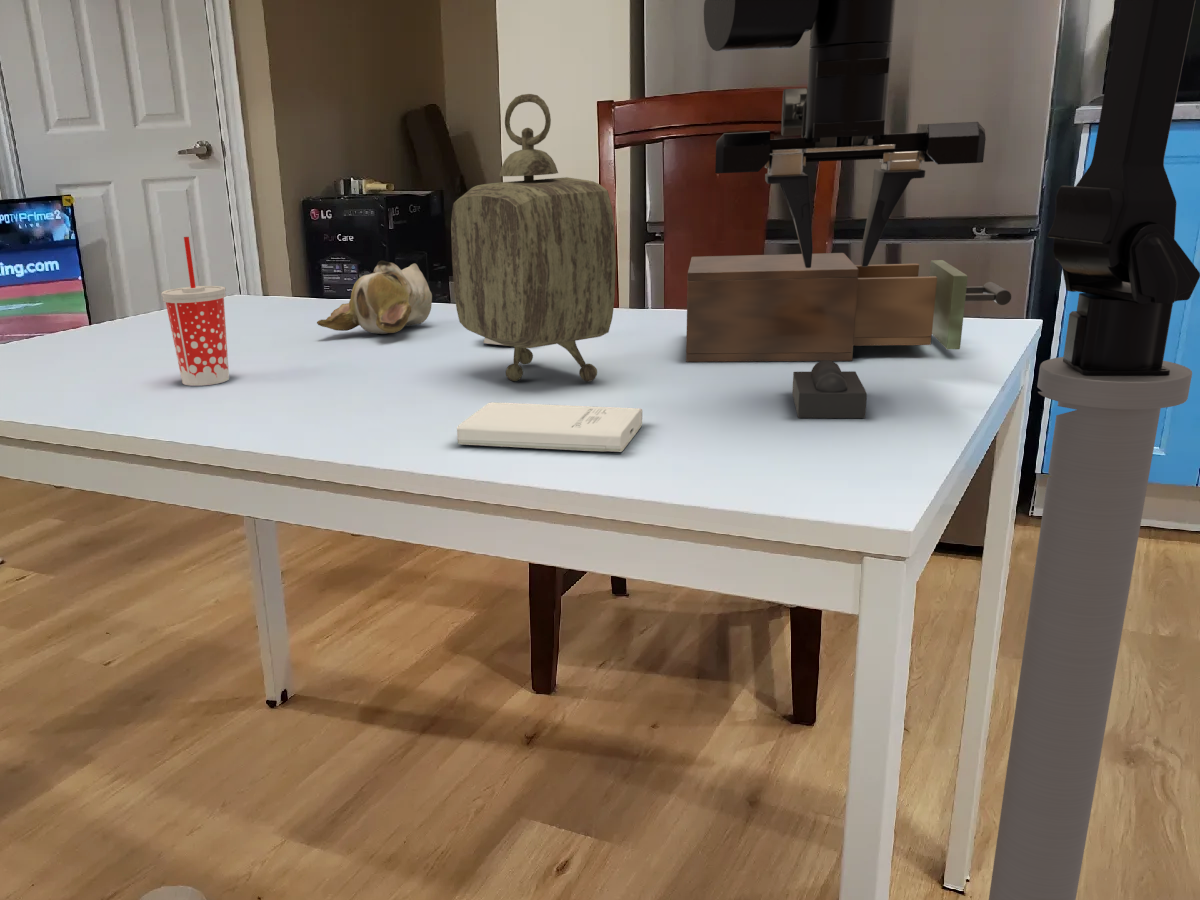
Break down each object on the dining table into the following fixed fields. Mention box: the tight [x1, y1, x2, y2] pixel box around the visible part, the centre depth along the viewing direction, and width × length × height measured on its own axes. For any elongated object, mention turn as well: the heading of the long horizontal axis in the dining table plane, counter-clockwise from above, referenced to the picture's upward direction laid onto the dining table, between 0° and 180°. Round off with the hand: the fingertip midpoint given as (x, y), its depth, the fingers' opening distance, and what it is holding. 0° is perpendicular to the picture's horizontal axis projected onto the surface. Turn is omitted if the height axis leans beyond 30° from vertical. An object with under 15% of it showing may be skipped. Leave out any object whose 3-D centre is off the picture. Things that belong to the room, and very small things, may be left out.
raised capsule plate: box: [791, 360, 868, 419], centre depth 88 cm, size 8×5×3 cm, turn 168°
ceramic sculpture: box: [316, 260, 433, 335], centre depth 131 cm, size 11×9×15 cm
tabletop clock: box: [450, 93, 617, 382], centre depth 100 cm, size 14×9×25 cm, turn 31°
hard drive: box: [456, 401, 643, 453], centre depth 83 cm, size 2×8×12 cm
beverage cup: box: [160, 236, 230, 387], centre depth 107 cm, size 6×6×14 cm
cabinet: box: [685, 252, 859, 363], centre depth 111 cm, size 16×14×9 cm
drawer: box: [853, 259, 1012, 350], centre depth 108 cm, size 19×12×7 cm, turn 78°
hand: (836, 266), depth 85 cm, fingers open, 4 cm apart
